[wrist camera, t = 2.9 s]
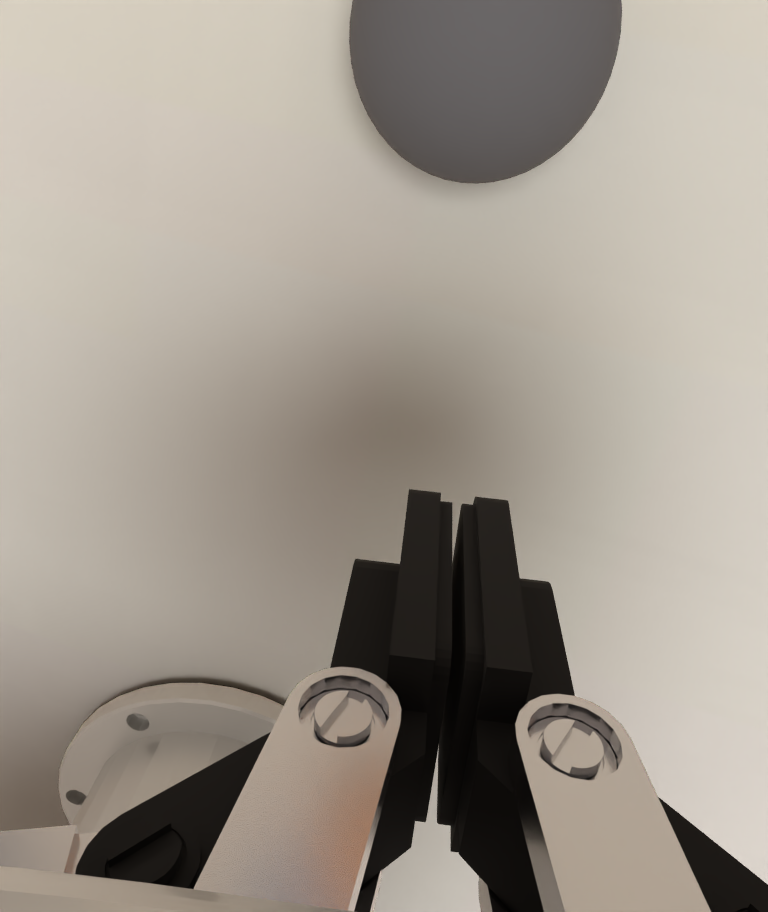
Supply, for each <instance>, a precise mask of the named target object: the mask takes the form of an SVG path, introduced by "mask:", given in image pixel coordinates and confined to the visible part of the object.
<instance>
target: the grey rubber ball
mask: <svg viewBox="0 0 768 912" xmlns="http://www.w3.org/2000/svg"><path fill="white" fill-rule="evenodd" d="M621 18H622V4H621V0H353V2H352V10H351V17H350V37H349V44H350V55H351V64H352V69H353V74H354V79H355V83H356V86H357V89H358V92H359V95H360V98H361V101H362V103H363V105H364V107H365V109H366V111H367V113H368V116H369V117H370V119H371V121H372V122H373V124H374V125H375V127H376V129H377V130H378V132H379V133H380V134H381V136H382V137H383V138H384V139H385V140H386V142H387V143H388V144H389V145H390V146H391V147H392V148H393V149H394V150H395V151H396V152H397V153H398V154H399V155H400V156H401V157H403V158H404V159H405V160H407V161H408V162H410V163H411V164H412V165H414V166H415V167H417V168H419V169H421V170H423V171H425V172H427V173H429V174H431V175H434V176H437V177H440V178H442V179H446V180H451V181H456V182H461V183H486V182H495V181H499V180H504V179H508V178H511V177H514V176H517V175H519V174H522V173H525V172H527V171H529V170H531V169H533V168H535V167H536V166H538V165H540V164H542V163H543V162H545V161H546V160H548V159H549V158H551V157H552V156H553V155H555V154H556V153H557V152H559V151H560V150H561V149H562V148H563V147H564V146H565V145H566V144H567V143H569V142H570V141H571V140H572V138H573V137H574V136H575V135H576V134H577V133H578V132H579V131H580V129H581V128H582V127H583V126H584V124H585V123H586V121H587V120H588V119H589V117H590V116H591V114H592V113H593V111H594V110H595V108H596V106H597V104H598V102H599V100H600V99H601V97H602V95H603V93H604V91H605V88H606V86H607V83H608V81H609V78H610V76H611V73H612V69H613V66H614V62H615V59H616V55H617V51H618V45H619V39H620V33H621Z"/></svg>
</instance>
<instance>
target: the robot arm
mask: <svg viewBox="0 0 768 912" xmlns="http://www.w3.org/2000/svg"><path fill="white" fill-rule="evenodd" d="M440 497H441V493H437V492H428V491H419V490H411V489H409V495H408V503H407V511H406V520H405V528H404V536H403V545H402V553H401V561H400V564H394V563H386V562H377V561H369V560H360V559H355V561H354V565H353V569H352V574H351V578H350V583H349V587H348V592H347V596H346V600H345V605H344V609H343V614H342V618H341V623H340V627H339V632H338V636H337V640H336V645H335V649H334V654H333V658H332V663H331V667H330V668H326V669H323V670H320V671H318V672H315V673H312V674H310V675H309V676H307V677H306V678H305V679H303V680H302V681H300V682H299V683H298V684H297V685H296V686H295V688H294V689H293V691H292V692H291V693H290V695H289V696H288V698H287V700H286V702H285V704H284V706H283V705H281V704H279V703H277V702H274V701H272V700H270V699H268V698H266V697H264V696H260V695H257V694H254V693H250V692H247V691H243V690H240V689H237V688H233V687H226V686H219V685H213V684H206V683H168V684H162V685H156V686H149V687H143V688H140V689H137V690H135V691H132V692H129V693H126V694H123V695H120V696H118V697H116V698H115V699H113V700H111V701H110V702H108V703H106V704H105V705H103V706H101V707H100V708H98V709H97V710H96V711H95V712H94V713H93V714H92V715H91V716H90V717H89V718H88V719H87V720H86V721H85V722H84V723H83V724H82V725H81V727H80V729H79V730H78V732H77V734H76V735H75V737H74V738H73V740H72V741H71V743H70V744H69V746H68V748H67V749H66V752H65V754H64V757H63V760H62V762H61V765H60V767H59V780H58V790H59V795H60V800H61V805H62V809H63V811H64V813H65V815H66V817H67V820H68V822H69V824H70V825H65V826H53V827H42V828H30V829H19V830H7V831H0V912H374V908H375V904H376V900H377V896H378V892H379V888H380V883H381V875H382V870H383V869H384V868H385V867H386V866H388V865H389V864H390V863H392V862H393V861H394V860H395V859H397V858H398V857H399V856H401V855H402V854H403V853H404V852H406V851H407V850H408V849H409V848H411V844H412V837H413V831H414V824H415V821H421V822H426V818H427V812H428V806H429V800H430V793H431V787H432V781H433V775H434V769H435V763H436V757H437V751H438V745H439V755H438V797H437V823H438V824H443V825H450V826H451V851H452V852H459V855H460V856H461V857H462V858H463V859H464V860H465V861H466V862H467V864H468V865H469V866H470V867H471V868H472V869H473V870H474V871H475V872H476V873H477V875H478V876H479V882H478V885H479V902H480V907H481V912H768V885H767V884H766V883H765V882H764V881H762V880H761V879H760V878H759V877H757V876H756V875H755V874H754V873H752V872H751V871H750V870H749V869H747V868H746V867H745V866H744V865H742V864H741V863H740V862H739V861H737V860H736V859H735V858H734V857H732V856H731V855H730V854H729V853H727V852H726V851H725V850H724V849H722V848H721V847H720V846H719V845H718V844H716V843H715V842H714V841H713V840H711V839H710V838H709V837H708V836H706V835H705V834H704V833H703V832H701V831H700V830H699V829H698V828H696V827H695V826H694V825H693V824H691V823H690V822H689V821H688V820H686V819H685V818H684V817H683V816H681V815H680V814H679V813H678V812H676V811H675V810H674V809H673V808H671V807H670V806H669V805H668V804H666V803H665V802H664V801H663V800H661V799H660V798H659V797H658V796H657V794H656V792H655V789H654V787H653V785H652V783H651V781H650V779H649V776H648V774H647V772H646V770H645V768H644V766H643V763H642V761H641V759H640V757H639V755H638V753H637V750H636V748H635V746H634V744H633V742H632V740H631V738H630V737H629V735H628V733H627V732H626V730H625V729H624V727H623V726H622V724H620V723H619V722H618V721H617V720H616V719H615V718H614V717H613V716H612V715H611V714H610V713H609V712H607V711H606V710H604V709H602V708H601V707H599V706H598V705H596V704H594V703H593V702H590V701H587V700H585V699H582V698H579V697H576V696H575V695H574V690H573V685H572V680H571V676H570V671H569V666H568V661H567V657H566V652H565V647H564V642H563V638H562V633H561V628H560V624H559V619H558V614H557V609H556V605H555V600H554V595H553V590H552V587H551V584H550V583H549V582H545V581H537V580H529V579H520V578H519V572H518V565H517V558H516V551H515V544H514V537H513V530H512V524H511V517H510V510H509V503H508V501H507V500H499V499H490V498H481V497H475V499H474V503H473V505H469V504H462V505H461V510H460V517H459V523H458V530H457V537H456V543H455V550H454V557H453V563H452V503H451V502H442V501H440Z"/></svg>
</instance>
